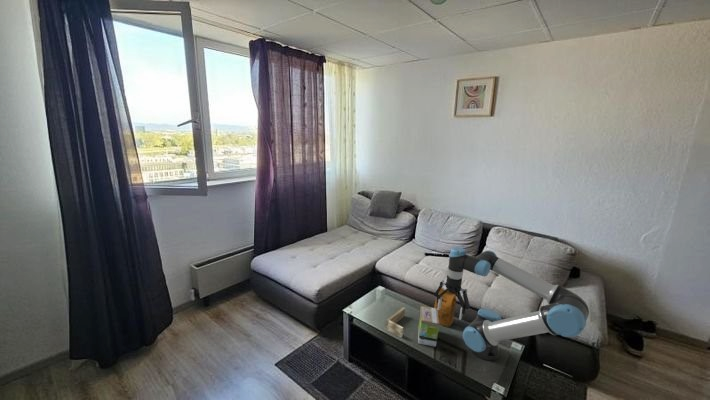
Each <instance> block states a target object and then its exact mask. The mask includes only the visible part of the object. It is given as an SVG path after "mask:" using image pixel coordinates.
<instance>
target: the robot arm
mask: <svg viewBox="0 0 710 400" xmlns="http://www.w3.org/2000/svg"><path fill="white" fill-rule="evenodd" d="M464 271H468V272H470V273H472V274H475V275H477V276H482V277H487V276H488V275H489V274H490V271H492V272H493V273H496V274H498V275H500V276H501V277H503V278H505V279H507V280H509V281H511V282H513V283H515V284H516V285H518V286H520V287H522V288H523V289H526V290H528V291H529V292H531V293H533V294H535V295H537V296H538V297H540V298H542V299H544V300H546V302H547V304H545V305H542V306H540V307H539V309H538V311H533V312H528V313H525V314H521V315H516V316H512V317H507V318H503V319H502V317H501V315H500V314H499V313H497V312H496V311H495V310H492V309H488V308H479V310H478V311H477V315H476V317H475V319H474V320H472V322H470V323H469V325H468V326H466V327H464V329H463V332H462V339H463V342H464V343H465V345H466V346H467V347H468V349H469V350H470V352H471V353H472V354H473V355H475V356H476V357H477V358H480V359H482V360H485V361H496V360H498V358H499V357H500V348H499V343H500V342H503V341H508V340H513V339H518V338H525V337H530V336H537V335H540V334H546V333H549V334H551V335H552V336H559V335H560V336H562V337H565V338H573V337H577V336H579V335H580V334H581V333H582V332H583V331H584V330H585V327H586V323H587V320H588V318H589V315H590V309H589V306H588V304H587V302H586V301H585V300H584V299H583V298H582V297H580V296H579V295H578V294H576V293H575V292H573V291H572V290H570V289H567V288H565V287H563V286H562V285H560V284H553V283H550V282H549V281H546V280H544V279H542V278H540V277H538V276H536V275H534V274H532V273H530V272H528V271H526V270H524V269H523V268H521V267H519V266H516V265H515V264H512V263H510V262H508V261H506V260H504V259H503V258H500V257H498V256H497V253H495V252H494V251H492V250H485V251H482V252H480V253H479V254H478V255H476V256H472V255H469V254H467V250H466V249H464V248H463V247H460V246H459V247H458V246H453V247H451V248H450V253H449V259H448V267H447V273H446V274H447V276H446V282H445V281H444V280H441V281H440V282H439V286H438V287H437V289H436V290H435V292H434V294H433V296H434V297H436V298H437V303H438V308H437V310H440V309H441V302H442V298H441V296H442V295H444V294H445V293H446V292H447V291H449V293H452V294H455V295H456V299H457V300H458V302H459V304H460V306H461V307H460V311H459V315H458V316H459V317H458V320H460V321H461V320H462V319H463V315H465V313H466V310H469V309H470V307H471V306H470V305H471V304H470V301H469V297H468V289H467V288H462V281H463V275H464ZM444 286H445V287H446V289H445V290H444V291H443V292H442V293H441V294H440V295H439V294H438V293H439V292H440V290H441V288H444Z"/></svg>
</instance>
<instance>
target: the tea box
mask: <svg viewBox="0 0 710 400" xmlns="http://www.w3.org/2000/svg"><path fill="white" fill-rule="evenodd" d="M417 324H418V325H417V331H418V332H417V335H418V337H417V340H418V344H419V345H423V346H424V345H425V346H430V347H435V348H436V347H437V342H438V337H439V336H438V335H439V330H440V324H439V317H438V310H437V309H436V308H434V307H429V306H423V305H421V306H420V310H419V318H418V323H417Z"/></svg>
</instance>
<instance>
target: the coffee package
mask: <svg viewBox="0 0 710 400" xmlns="http://www.w3.org/2000/svg"><path fill="white" fill-rule="evenodd" d="M444 290H446V289H445V288H444V287H442V288H441V290H440V292H439V293H438V294H439V295H440V294H441V293H442V292H443V291H444ZM441 298H442V302H441V309H440V310H438V317H439V325H441V326H443V327H444V326H445V327H447V328H449V327H450V326H451V325H452V324H453V323H454V317H455V311H456V310H455V309H456V305H457V297H456V295H455V294H452V293H449V291H447V292H446V293H445V294H444V295H442V296H441ZM433 308H436V309H437V308H438V303H437V297H436V298H435V301H434V307H433Z"/></svg>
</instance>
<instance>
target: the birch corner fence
mask: <svg viewBox="0 0 710 400" xmlns="http://www.w3.org/2000/svg"><path fill="white" fill-rule="evenodd" d="M405 310H406V308H405V307H403V306H402V307H401V308H400V309H398V310H397V311H396V312H395V313H394V314H392V315H391V316H389V318H387V319H386V320H385V328H384V329H385V330H387V331H388V332H390V333H391V334H394V335H395V336H397V337H399V338H403V335H404V327H403V326H401V325H400V324H398V322H399V321H401V320H402V319H403V318H404V317H405Z"/></svg>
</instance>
